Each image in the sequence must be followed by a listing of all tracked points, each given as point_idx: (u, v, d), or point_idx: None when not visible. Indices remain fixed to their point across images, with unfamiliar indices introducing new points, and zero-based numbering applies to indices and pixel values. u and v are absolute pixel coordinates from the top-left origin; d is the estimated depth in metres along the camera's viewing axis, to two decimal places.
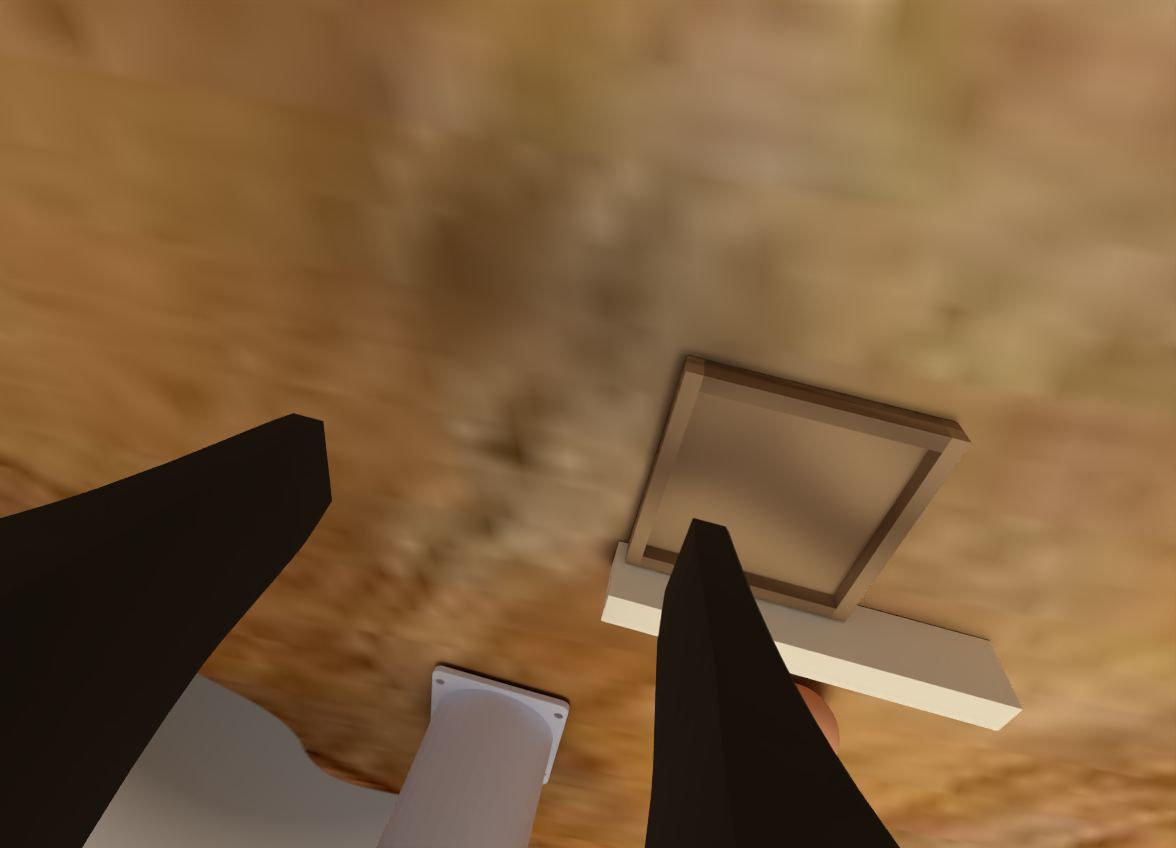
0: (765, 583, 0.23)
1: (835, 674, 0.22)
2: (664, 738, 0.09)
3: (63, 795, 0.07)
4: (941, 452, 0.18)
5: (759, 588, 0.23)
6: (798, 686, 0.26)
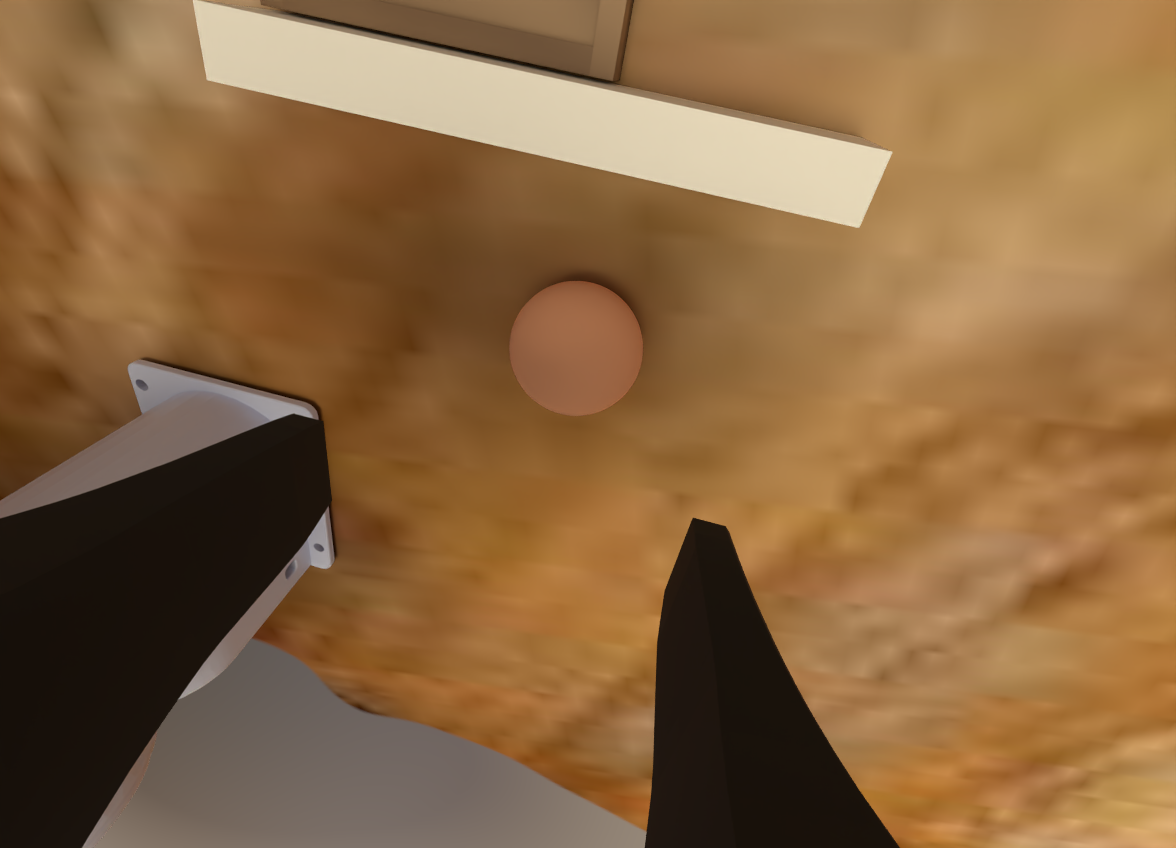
0: (483, 22, 0.14)
1: (580, 132, 0.13)
2: (664, 738, 0.09)
3: (63, 795, 0.07)
4: None
5: (467, 20, 0.14)
6: None
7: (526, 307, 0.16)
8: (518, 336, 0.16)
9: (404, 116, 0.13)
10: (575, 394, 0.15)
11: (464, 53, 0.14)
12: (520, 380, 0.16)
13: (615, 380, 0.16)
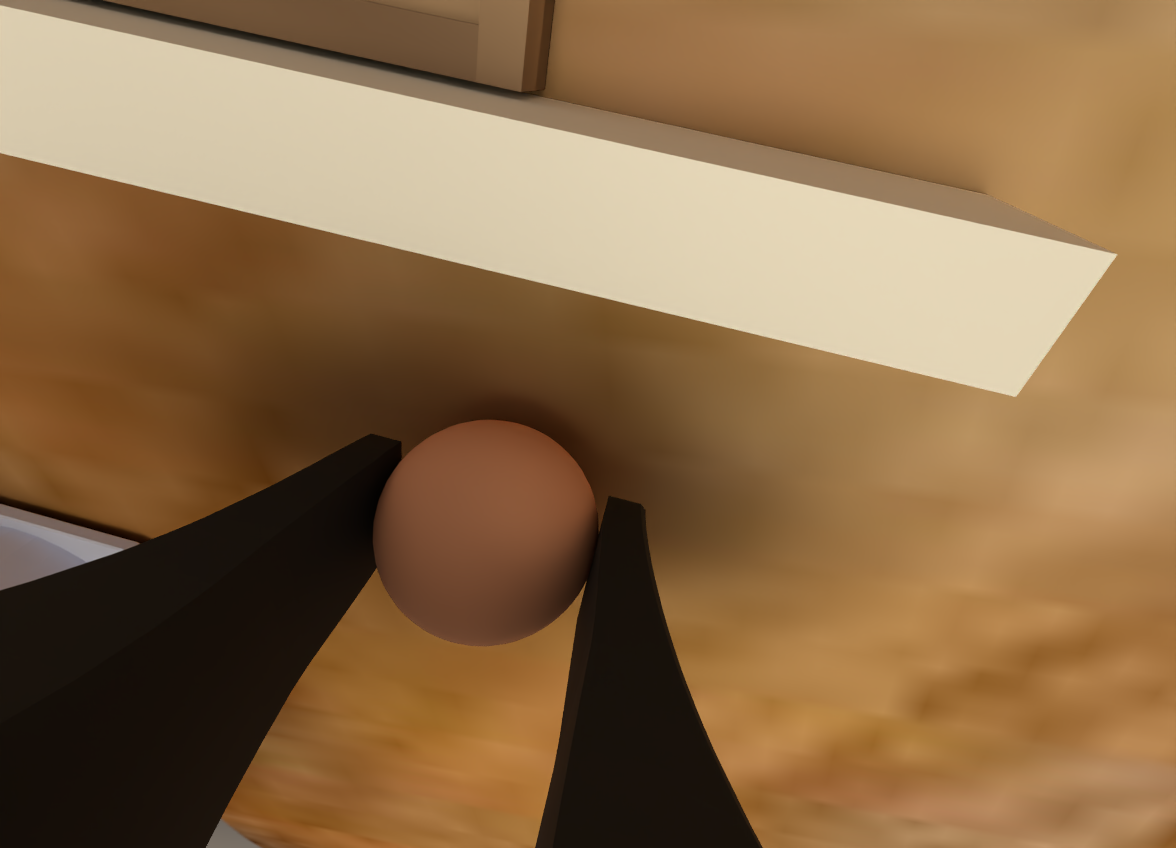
0: None
1: (441, 199, 0.06)
2: (567, 710, 0.09)
3: (177, 830, 0.07)
4: None
5: None
6: (508, 422, 0.10)
7: (395, 475, 0.09)
8: (378, 530, 0.09)
9: (104, 162, 0.07)
10: (474, 635, 0.09)
11: (245, 39, 0.07)
12: (389, 593, 0.10)
13: (544, 608, 0.09)
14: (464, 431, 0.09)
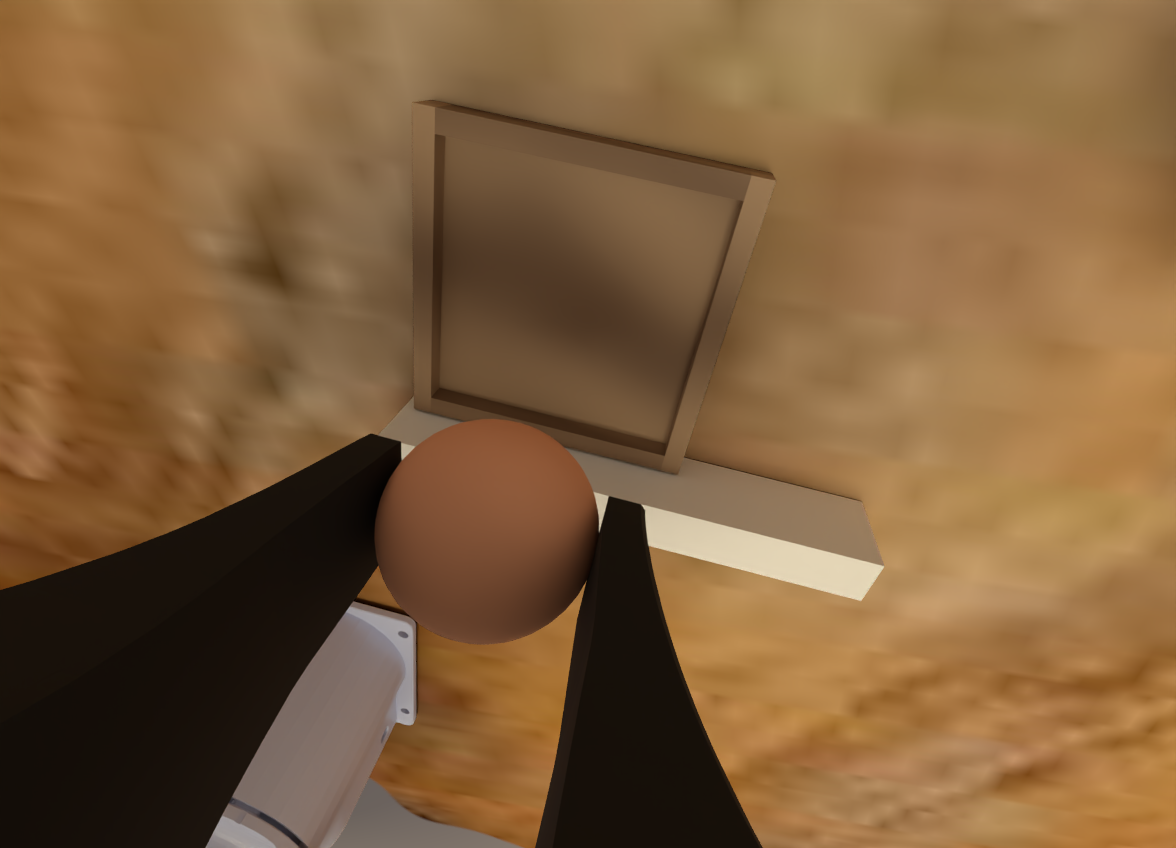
0: (581, 429, 0.19)
1: (658, 532, 0.18)
2: (566, 710, 0.09)
3: (177, 830, 0.07)
4: (743, 201, 0.14)
5: (571, 433, 0.18)
6: (509, 421, 0.10)
7: (397, 473, 0.09)
8: (379, 527, 0.09)
9: None
10: (473, 633, 0.09)
11: (566, 447, 0.19)
12: (390, 591, 0.10)
13: (543, 607, 0.09)
14: (465, 430, 0.09)
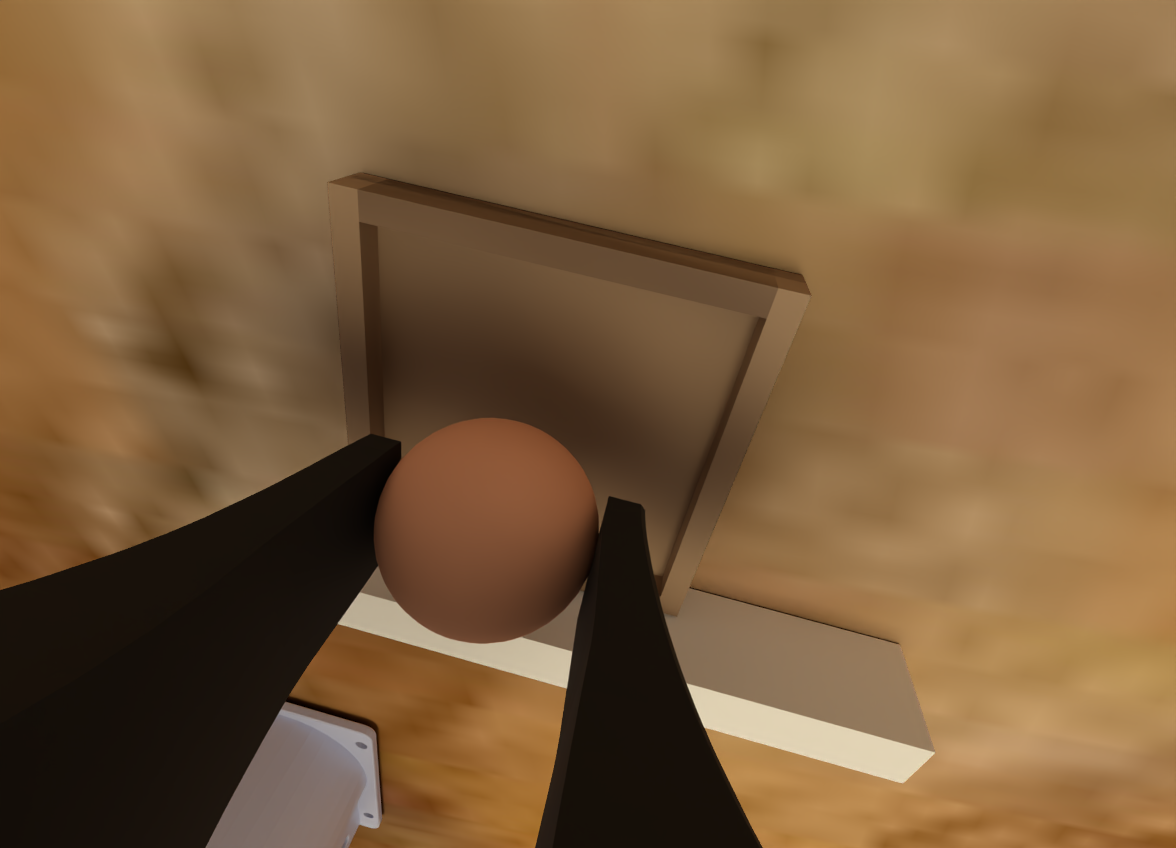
0: None
1: None
2: (566, 710, 0.09)
3: (177, 830, 0.07)
4: (766, 318, 0.10)
5: None
6: (509, 420, 0.10)
7: (396, 472, 0.09)
8: (378, 526, 0.09)
9: (490, 662, 0.15)
10: (472, 632, 0.09)
11: None
12: None
13: (542, 606, 0.09)
14: (465, 429, 0.09)
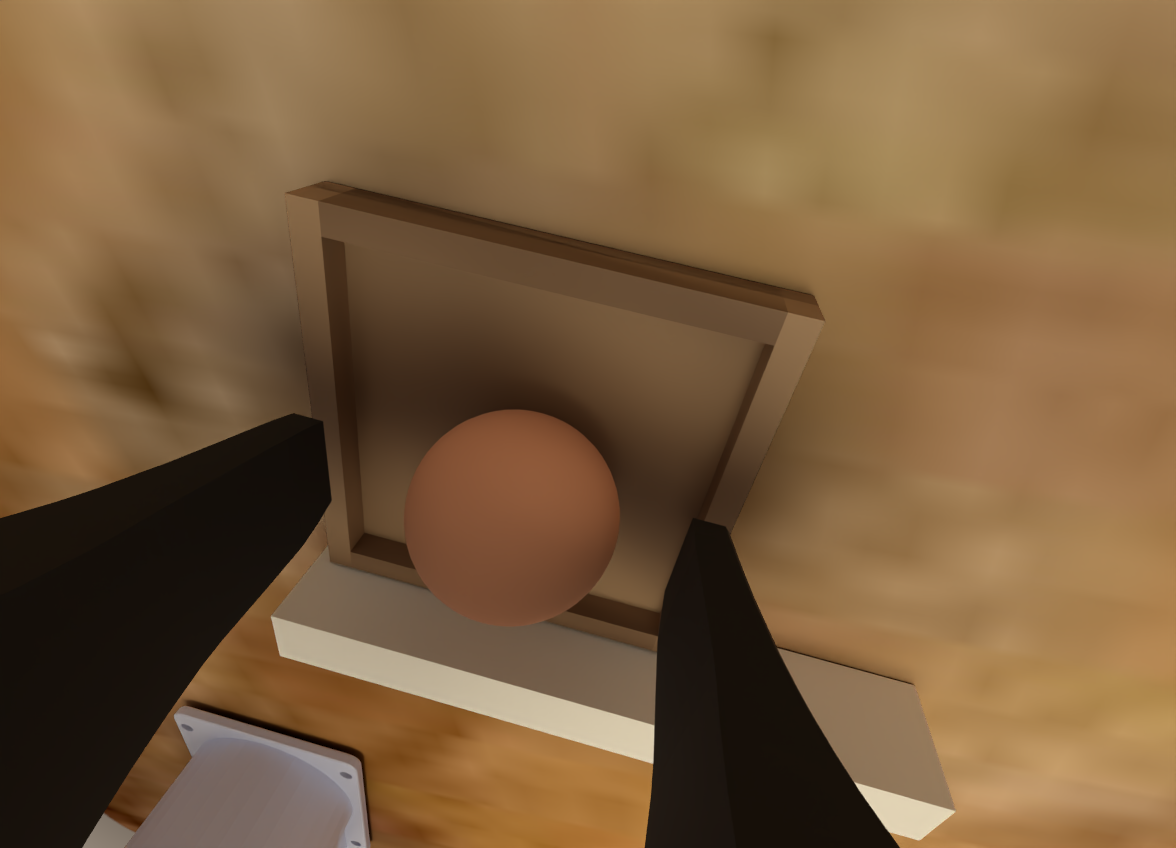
0: None
1: (648, 746, 0.13)
2: (664, 738, 0.09)
3: (63, 795, 0.07)
4: (773, 345, 0.09)
5: None
6: None
7: (425, 471, 0.09)
8: (416, 526, 0.09)
9: (474, 706, 0.14)
10: (522, 614, 0.09)
11: None
12: None
13: (585, 581, 0.10)
14: (488, 422, 0.10)
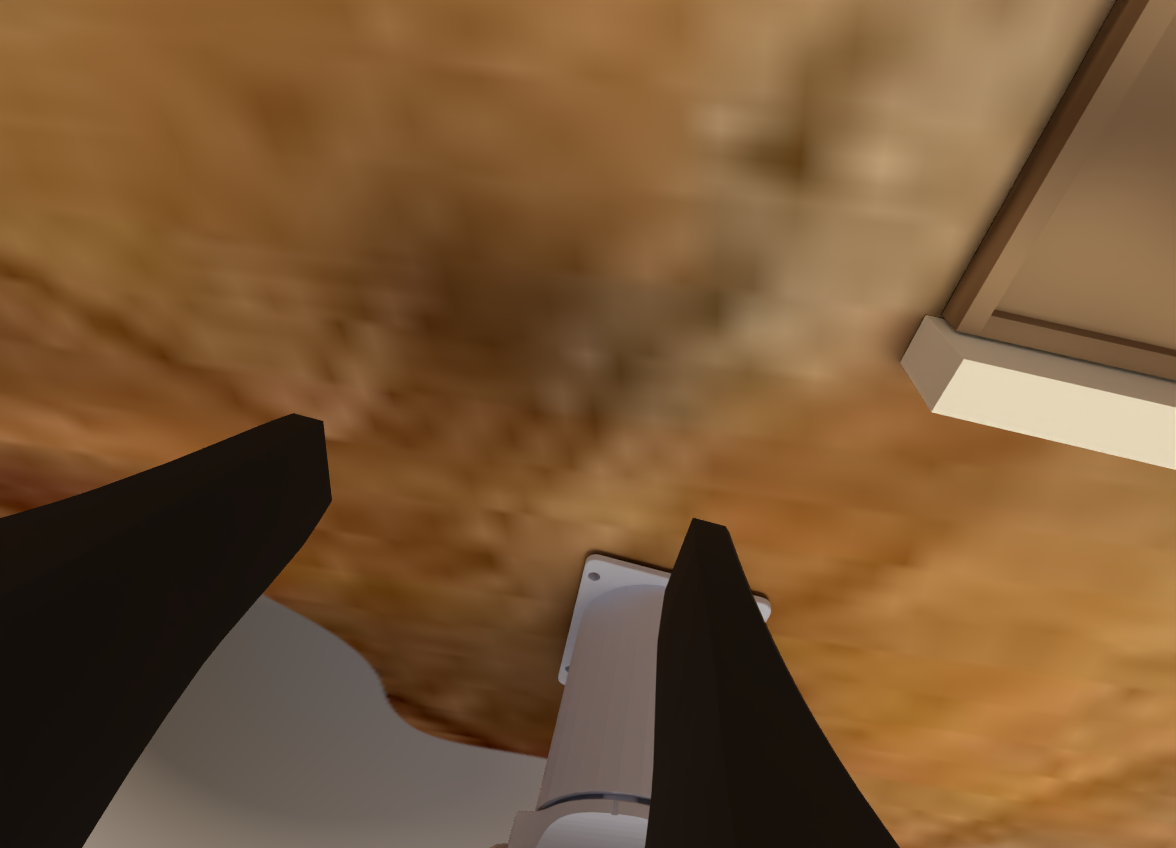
0: None
1: None
2: (664, 738, 0.09)
3: (63, 795, 0.07)
4: None
5: None
6: None
7: None
8: None
9: (1133, 452, 0.14)
10: None
11: (1154, 378, 0.15)
12: None
13: None
14: None
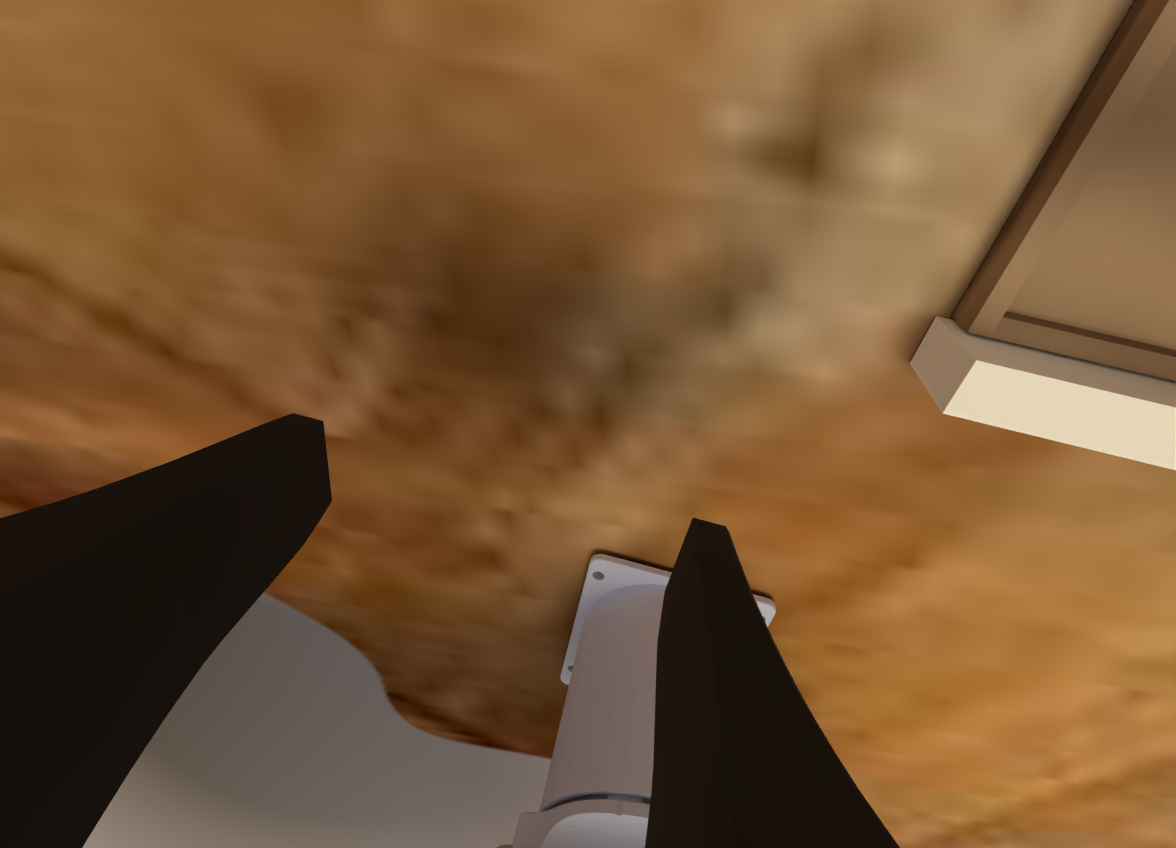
0: None
1: None
2: (664, 738, 0.09)
3: (63, 795, 0.07)
4: None
5: None
6: None
7: None
8: None
9: (1143, 455, 0.14)
10: None
11: (1165, 381, 0.15)
12: None
13: None
14: None
